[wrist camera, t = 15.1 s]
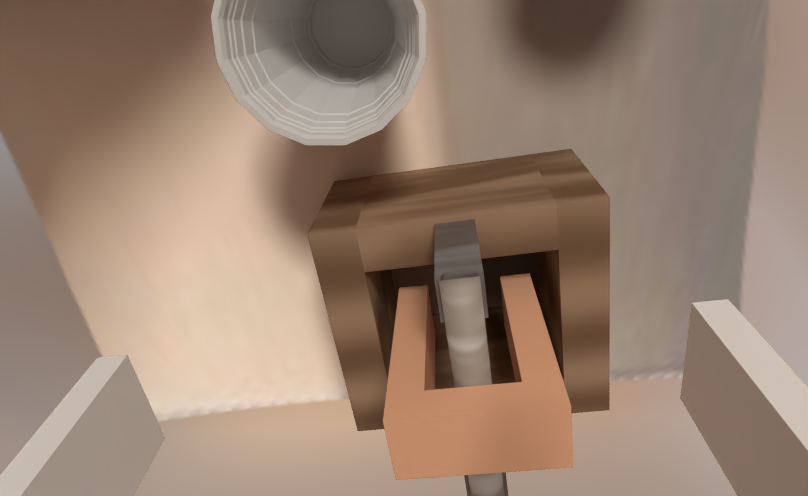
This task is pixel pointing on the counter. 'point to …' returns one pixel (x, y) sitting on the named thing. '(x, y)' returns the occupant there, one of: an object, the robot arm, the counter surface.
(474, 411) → the block
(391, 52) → the plastic cup
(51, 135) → the counter surface
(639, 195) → the counter surface
